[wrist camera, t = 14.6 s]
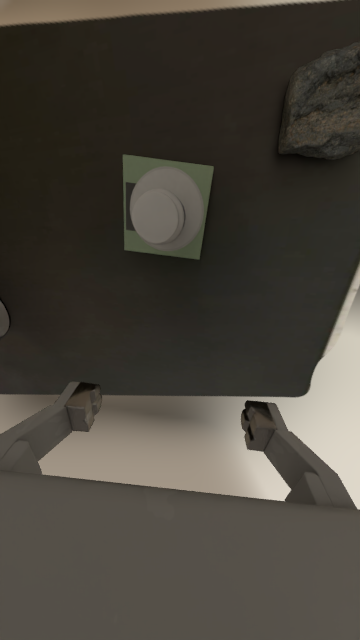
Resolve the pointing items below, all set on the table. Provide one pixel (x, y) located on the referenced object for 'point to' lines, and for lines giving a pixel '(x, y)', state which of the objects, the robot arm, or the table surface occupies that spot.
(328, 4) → the table surface
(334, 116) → the rock
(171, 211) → the pill bottle
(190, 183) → the scale
